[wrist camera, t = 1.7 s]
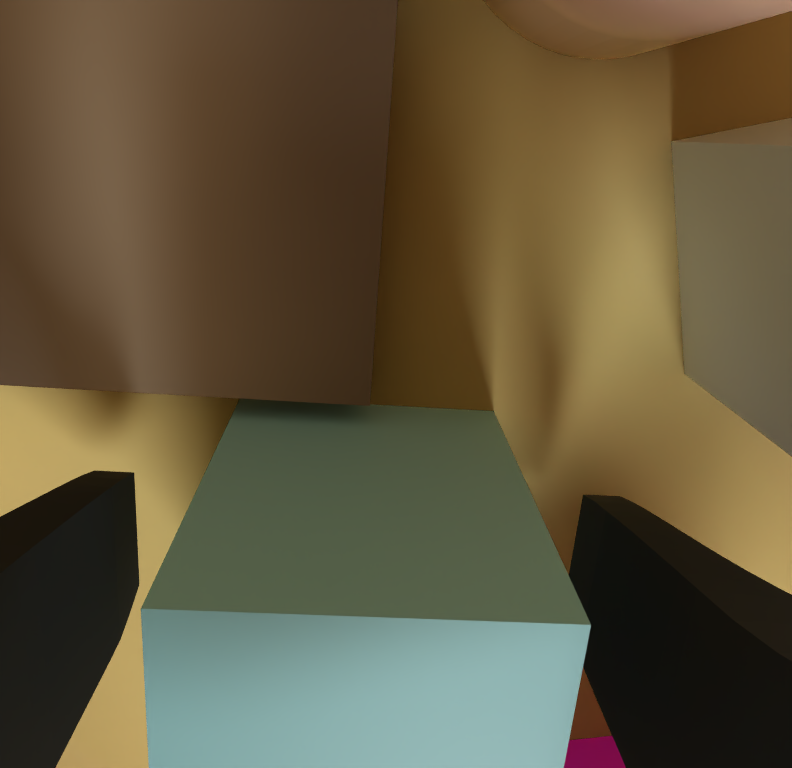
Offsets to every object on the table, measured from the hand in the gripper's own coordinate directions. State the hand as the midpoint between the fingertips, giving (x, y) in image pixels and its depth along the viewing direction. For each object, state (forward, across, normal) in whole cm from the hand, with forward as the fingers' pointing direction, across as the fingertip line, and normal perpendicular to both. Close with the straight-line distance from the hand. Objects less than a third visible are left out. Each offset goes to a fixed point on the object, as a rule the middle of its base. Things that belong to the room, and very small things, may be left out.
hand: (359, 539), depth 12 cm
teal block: (+2, 0, +1) cm, 2 cm away
